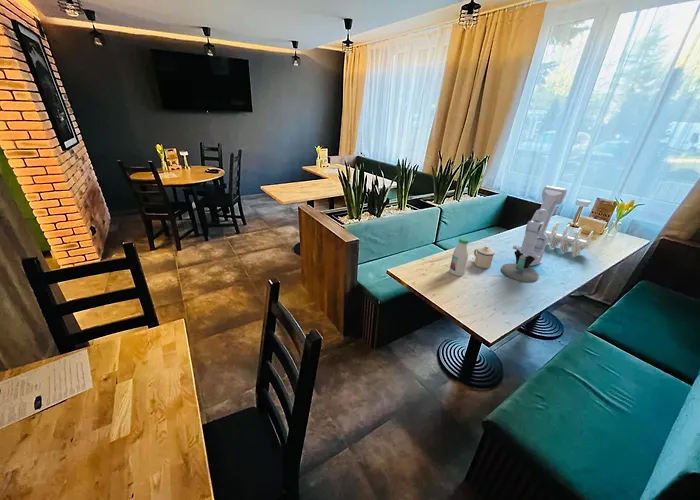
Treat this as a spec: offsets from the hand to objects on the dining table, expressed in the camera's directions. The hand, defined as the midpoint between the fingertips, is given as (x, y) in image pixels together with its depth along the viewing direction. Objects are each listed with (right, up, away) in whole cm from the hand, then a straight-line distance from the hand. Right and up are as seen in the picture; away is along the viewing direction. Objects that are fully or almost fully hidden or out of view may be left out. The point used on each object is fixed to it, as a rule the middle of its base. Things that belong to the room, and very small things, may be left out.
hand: (521, 265), depth 157 cm
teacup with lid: (-17, +1, +11) cm, 21 cm away
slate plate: (0, -4, +2) cm, 5 cm away
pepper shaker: (0, -2, +1) cm, 2 cm away
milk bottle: (-35, -4, +1) cm, 35 cm away
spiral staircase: (+41, +8, +28) cm, 50 cm away
